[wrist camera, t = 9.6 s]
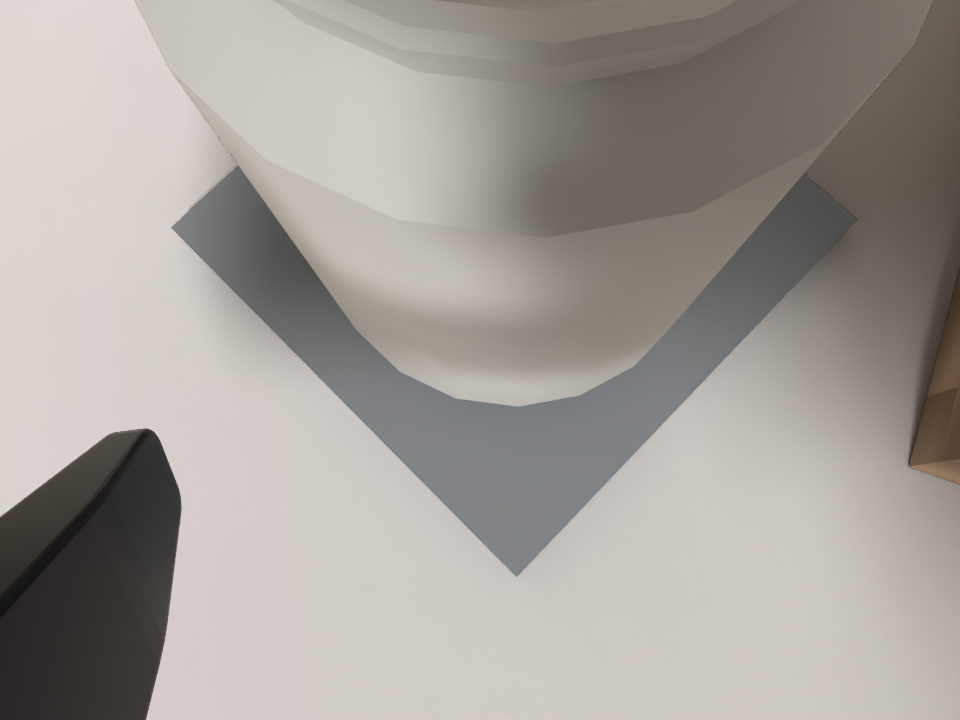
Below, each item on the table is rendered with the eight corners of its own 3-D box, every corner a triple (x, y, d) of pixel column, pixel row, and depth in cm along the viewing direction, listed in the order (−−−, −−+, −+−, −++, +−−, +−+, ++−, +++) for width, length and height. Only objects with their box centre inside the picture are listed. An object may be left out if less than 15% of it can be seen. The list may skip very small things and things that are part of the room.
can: (285, 130, 18) (-120, -626, 6) (616, 21, 18) (830, -892, 7) (394, 465, 17) (140, 312, 5) (751, 340, 17) (1338, -91, 5)
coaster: (515, 575, 17) (516, 577, 16) (181, 237, 18) (171, 227, 18) (846, 229, 18) (857, 219, 17) (507, -61, 19) (507, -80, 19)
